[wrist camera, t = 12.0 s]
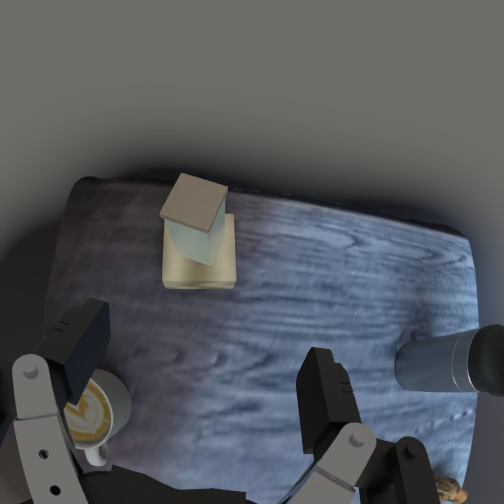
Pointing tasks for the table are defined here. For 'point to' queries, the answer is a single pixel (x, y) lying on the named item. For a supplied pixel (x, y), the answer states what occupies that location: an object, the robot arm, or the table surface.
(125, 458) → the table surface
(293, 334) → the table surface
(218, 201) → the sage canister
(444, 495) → the lion figurine
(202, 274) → the maple block
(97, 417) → the coffee mug
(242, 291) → the table surface
